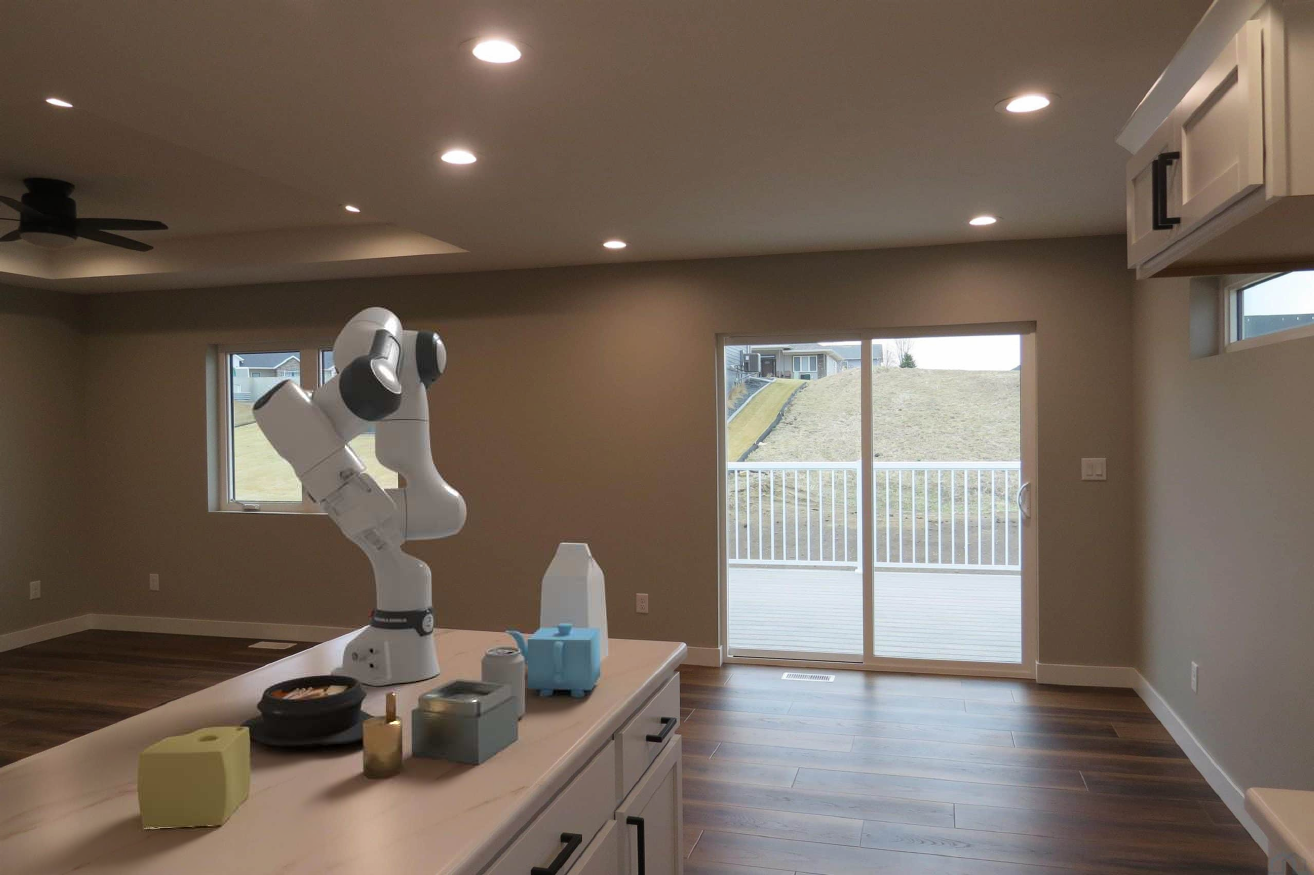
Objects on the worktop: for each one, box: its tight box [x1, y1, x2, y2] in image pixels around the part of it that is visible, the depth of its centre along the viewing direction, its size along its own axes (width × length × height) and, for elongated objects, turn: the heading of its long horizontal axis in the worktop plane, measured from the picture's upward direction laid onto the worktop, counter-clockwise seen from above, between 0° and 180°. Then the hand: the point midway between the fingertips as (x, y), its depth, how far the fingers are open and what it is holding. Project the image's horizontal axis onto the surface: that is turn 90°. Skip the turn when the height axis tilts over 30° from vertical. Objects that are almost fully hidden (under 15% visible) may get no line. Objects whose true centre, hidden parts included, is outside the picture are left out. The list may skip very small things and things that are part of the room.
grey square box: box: [410, 678, 519, 766], centre depth 140 cm, size 12×12×9 cm
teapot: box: [504, 623, 601, 698], centre depth 172 cm, size 18×16×13 cm
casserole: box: [238, 674, 377, 749], centre depth 146 cm, size 25×19×8 cm
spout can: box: [362, 692, 404, 780], centre depth 130 cm, size 6×6×12 cm
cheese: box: [137, 726, 251, 829], centre depth 116 cm, size 10×11×10 cm
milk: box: [539, 542, 610, 663], centre depth 193 cm, size 12×12×26 cm
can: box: [480, 646, 526, 720], centre depth 155 cm, size 8×8×12 cm
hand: (391, 547), depth 136 cm, fingers open, 8 cm apart
